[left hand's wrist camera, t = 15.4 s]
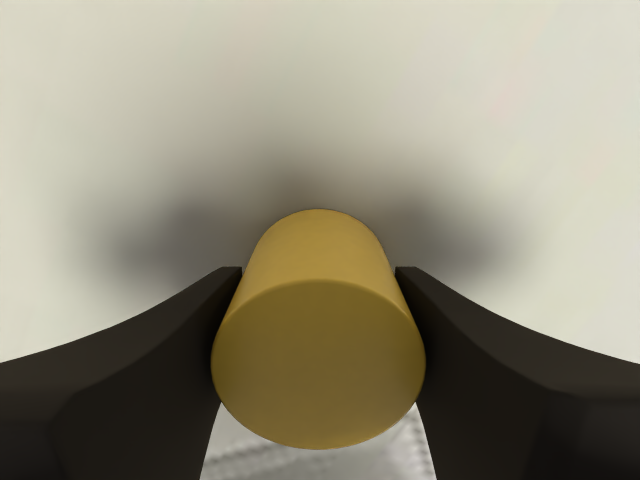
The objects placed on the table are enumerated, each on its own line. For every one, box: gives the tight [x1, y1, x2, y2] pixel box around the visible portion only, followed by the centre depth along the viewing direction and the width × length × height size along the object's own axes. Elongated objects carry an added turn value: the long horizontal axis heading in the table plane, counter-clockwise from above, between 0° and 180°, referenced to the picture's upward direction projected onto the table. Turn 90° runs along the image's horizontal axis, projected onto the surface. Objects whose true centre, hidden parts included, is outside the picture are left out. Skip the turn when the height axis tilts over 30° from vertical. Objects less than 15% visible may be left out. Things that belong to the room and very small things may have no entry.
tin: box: [210, 209, 426, 450], centre depth 10 cm, size 5×5×5 cm
